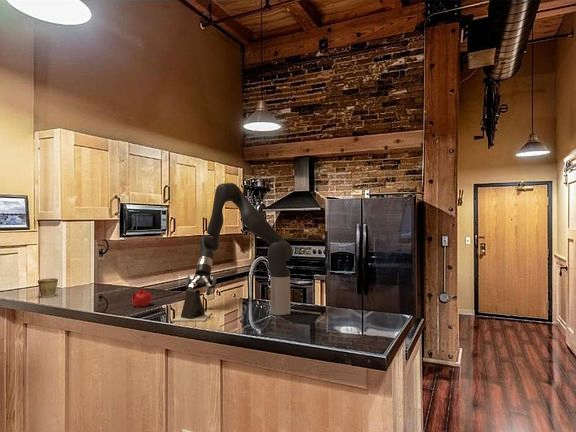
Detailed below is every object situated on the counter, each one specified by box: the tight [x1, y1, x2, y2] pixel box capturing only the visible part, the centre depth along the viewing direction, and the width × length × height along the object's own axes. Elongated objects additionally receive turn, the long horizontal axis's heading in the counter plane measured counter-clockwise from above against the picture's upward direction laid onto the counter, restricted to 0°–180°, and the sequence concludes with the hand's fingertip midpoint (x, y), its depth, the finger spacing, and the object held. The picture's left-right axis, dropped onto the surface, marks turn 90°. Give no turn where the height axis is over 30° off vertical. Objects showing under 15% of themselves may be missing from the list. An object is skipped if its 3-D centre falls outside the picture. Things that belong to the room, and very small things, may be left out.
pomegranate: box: [131, 287, 153, 308], centre depth 197 cm, size 10×10×9 cm
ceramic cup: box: [37, 277, 59, 299], centre depth 224 cm, size 13×10×10 cm
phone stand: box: [180, 288, 205, 319], centre depth 172 cm, size 9×6×12 cm, turn 147°
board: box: [172, 311, 213, 323], centre depth 172 cm, size 14×14×1 cm
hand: (198, 294), depth 182 cm, fingers open, 8 cm apart
